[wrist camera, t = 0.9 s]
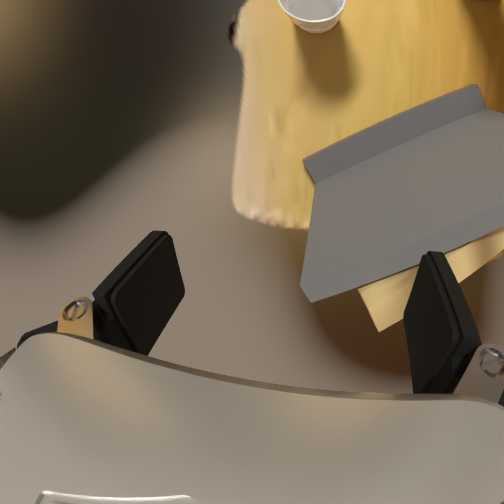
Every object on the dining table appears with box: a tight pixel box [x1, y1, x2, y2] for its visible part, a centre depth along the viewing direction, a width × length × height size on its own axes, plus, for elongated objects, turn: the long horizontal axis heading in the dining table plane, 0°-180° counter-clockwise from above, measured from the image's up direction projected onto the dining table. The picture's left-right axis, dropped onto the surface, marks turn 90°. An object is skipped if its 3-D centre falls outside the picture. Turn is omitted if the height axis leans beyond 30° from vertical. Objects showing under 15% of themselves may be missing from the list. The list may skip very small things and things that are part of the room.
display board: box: [300, 84, 504, 303], centre depth 26 cm, size 32×10×26 cm, turn 123°
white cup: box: [277, 0, 346, 33], centre depth 25 cm, size 8×8×10 cm
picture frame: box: [356, 226, 504, 332], centre depth 25 cm, size 24×3×18 cm, turn 124°
